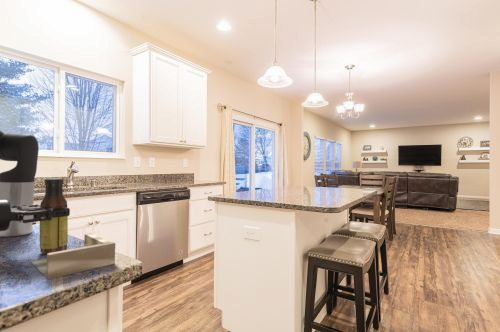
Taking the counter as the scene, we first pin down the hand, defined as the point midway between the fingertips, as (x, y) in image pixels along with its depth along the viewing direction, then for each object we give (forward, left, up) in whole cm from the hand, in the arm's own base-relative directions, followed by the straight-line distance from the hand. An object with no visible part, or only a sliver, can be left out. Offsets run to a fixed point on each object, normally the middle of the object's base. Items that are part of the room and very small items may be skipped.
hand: (64, 210), depth 77 cm
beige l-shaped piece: (+13, -2, -11) cm, 17 cm away
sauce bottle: (0, -2, -11) cm, 11 cm away
